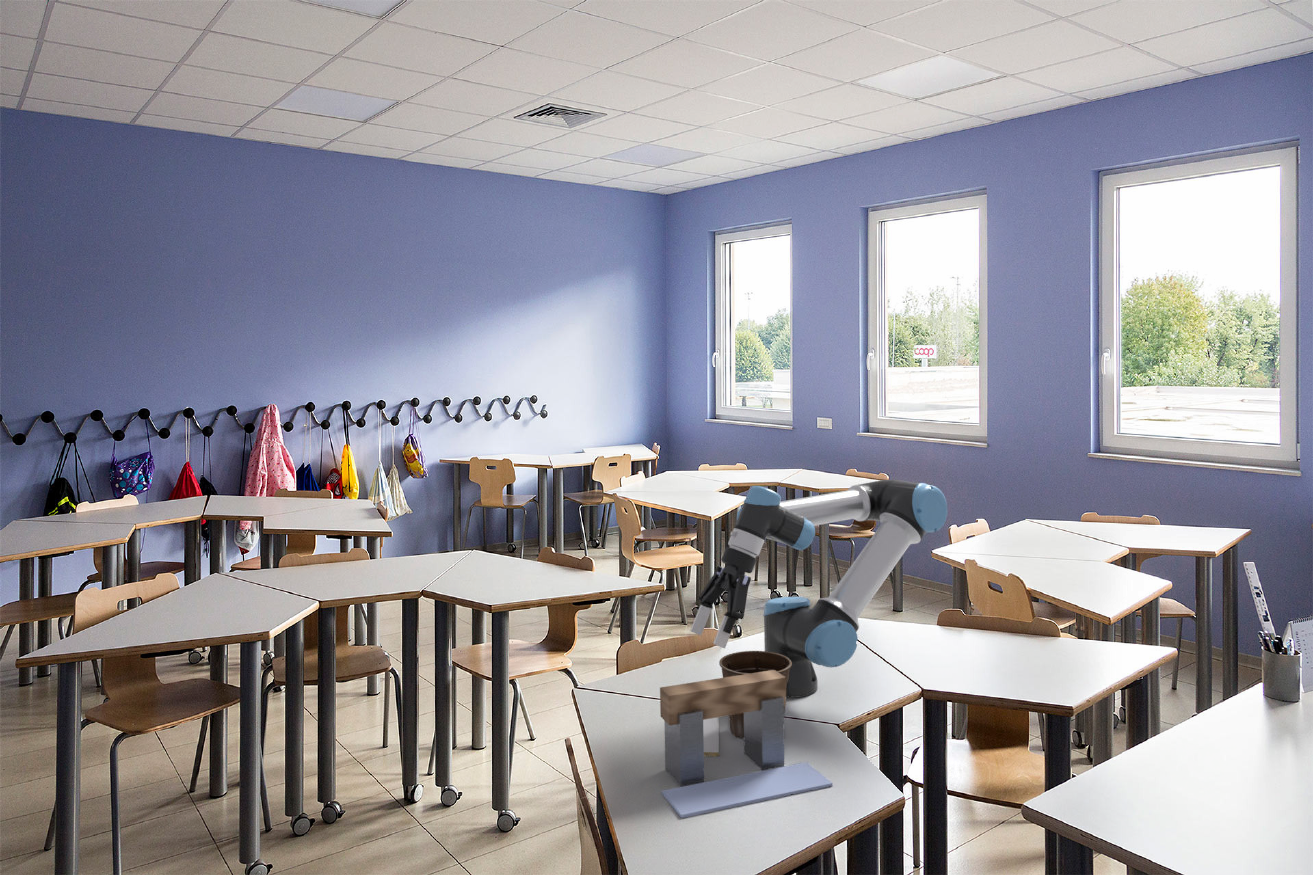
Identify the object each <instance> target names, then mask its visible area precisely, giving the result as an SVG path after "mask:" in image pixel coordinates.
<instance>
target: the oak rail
mask: <svg viewBox="0 0 1313 875" xmlns="http://www.w3.org/2000/svg"><path fill="white" fill-rule="evenodd" d="M779 696H782V697H783V698H784V706H785V707H786V706H787V697H786V677H785V676H783V675H782V674H780V673H779V672H777V671H776V670H770V671H763V672H757V673H750V674H744V675H738V676H731V677H725V678H723V677H719V678H714V679H707V680H700V681H694V682H687V683H681V684H675V685H673V684H672V685H668V686H661V687H659V703H660V704H659V706H660V709H659V710H660V713H659V714H660V717H661V719H662V720H663V721H664V722H665V721H666V722H667V724H668V725H669V726H670V725H676V724H678V713H684V712H690V711H695V710H702V711H703V720H705V719H711V718H717V717H718V718H722V717H727V716H728V717H729V715H734V714H740V713H746V712H751V711H757V710H760V700H761V699H767V698H773V697H779Z"/></svg>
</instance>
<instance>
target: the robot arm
mask: <svg viewBox="0 0 1313 875" xmlns="http://www.w3.org/2000/svg"><path fill="white" fill-rule="evenodd" d="M781 500H782V497H781V495H780V494H779V493H778V492H775V491H774V490H772V489H770V488H767V487H765V486H761V485H760V486H759V485H753V486H752V487H751V488H750V489H749V491H748V492H747V495H746V496H745V499H744V500H743V504H742V505H741V507H740V508H739V510H738V511H737V514H736V522H735V525H734V528H733V530H732V531H731V532H730V537H729V540H728V542H727V544H728V546H727V547H725V549H724V552H723V555H722V557H721V559H720V560H721V561H720V562H722V563H723V564H725V566H724V567H722V566H720V565H718V566H716V569H715V571H714V573H713V574H712V576H711V578H710V579H709V581H708V582H707V583H706V585H705V587H704V588H703V590H702V591H701V593H700V594H699V596H698V598H697V600H698V601H699V604H700V605H699V608H698V610H697V612H696V616H695V617H694V620H693V623H692V625H691V628H690V630H689V631H690V632H691V633H694V634H695V635H698V636H702V635H703V632H704V630H705V627H706V624H707V622H708V619H709V617H710V615H711V611H712V610H713V609H714V608H713V607H714V603H715V602H716V601H717V600H718V599H719V598H720V597H721V595H723V594H724V592H727V598H726V600H727V601H726V602H727V603H726V606H727V607H726V612H724V613H723V615H724V616H723V617H722V620H721V623H720V624H719V627H718V631H717V633H716V636H715V637H714V641H713V645H714V646H718V647H720V648H723V649H726V646H727V644H728V642H729V640H730V637H731V634H732V632H733V629H734V627H735V624H736V622H737V621H738V620H739V619H740V620H743V619H744V616H745V610H746V605H747V599H748V598H747V597H748V592H749V586H750V584H751V580H752V577H750V576H748V575H746V574H751V573H753V571H754V568H755V565H756V564H757V557H759V555H760V553H761V551H762V548H763V546H764V544H765V540H766V539H767V540H771V541H775V542H778V543H780V544H781V543H782V544H784V545H786V546H788V547H789V548H792V549H795V550H799V551H802V550H805V549H807V548H808V547H810V545H811V544H812V543H813V541H814V538H815V536H816V528H815V526H820V525H826V524H832V523H836V522H843V521H847V520H855V521H857V522H864V521H877V522H880V525H879V527H878V528H877V529H876V530H875V532H874V534H873V535H872V536H871V538H870V539H869V540H868V541H867V543H866V545H865V546H864V547H863V548H862V550H861V552H860V553H859V554H858V556H857V557H856V559H855V560H854V561H853V562H852V564H851V565H850V566H849V568H848V569H847V571H846V572H845V573H844V574H843V577H842V578H841V579H840V580H839V581H838V582H837V584H836V586H835V588H834V589H833V590H832V591H831V593H830V594H829V596H828V597H820V598H819V599H818V600H817V602H816V603H815V604H814V605H813V606H812V608H811V605H812V604H811V602H810V601H811V600H810V599H809V598H807V597H804V596H782V597H775V598H772V599H771V598H770V599H768V600H767V601H766V602H765V604H764V608H763V610H764V611H763V614H762V615H763V624H764V626H763V627H764V630H763V633H764V636H763V638H764V651H766V652H773V653H778V654H781V655H784V656H786V657H787V658H789V659H790V660H791V662H792V665H791V667H790V669H789V680H788V682H787V688H786V698H799V697H802V698H803V697H807V696H809V695H812V694H815V692H817V691H818V687H819V686H818V685H819V684H818V681H819V680H818V677H817V675H816V674H817V673H816V670H815V667H814V665H813V664H815V665H818V666H823V667H825V668H838V667H841V666H842V665H844V664H846V663H847V662H848V661H849V660H850V659H851V658H852V657H853V656H854V654H855V652H856V650H857V647H858V644H857V642H858V640H859V639H858V633H857V632H858V630H859V629H860V624H859V618H860V617H861V615H862V613H863V612H864V610H866V608H867V606H868V604H870V603H871V601H872V599H873V597H875V595H876V593H877V592H878V590H879V589H880V588H881V586H882V585H883V583H884V582H885V581H886V579H887V577H888V576H889V575H890V573H892V571H893V569H894V568H895V566H897V563H899V561H900V560H901V558H902V557H903V556H904V554H905V553H906V551H907V549H908V548H909V547H910V546H911V545H915V544H919V543H920V542H921V541H922V539H923V538H924V536H925V535H926V534H927V533H934V532H938V531H939V530H941V529H942V527H944V526H945V523H946V520H947V517H948V502H947V498H946V497H945V495H944V493H943V491H942V490H941V489H940V488H938V487H937V486H935V485H930V484H927V483H925V482H920V483H919V482H912V481H906V480H900V479H894V478H893V479H882V480H876V481H871V482H870V481H869V482H866V483H861V484H859V483H858V484H855V485H851V486H850V487H849V488H848V489H847V490H842V491H841V490H840V491H835V492H830V493H829V492H828V493H824V494H818V495H813V496H806V497H801V498H800V497H799V498H794V499H788V500H783V501H781Z"/></svg>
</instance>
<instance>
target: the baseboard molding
mask: <svg viewBox="0 0 1313 875" xmlns="http://www.w3.org/2000/svg"><path fill="white" fill-rule="evenodd" d="M719 733H720V732H719V717H717V718H711V719H705V720H703V737H704V757H719V755H720V751H719V748H720V747H719V745H720V744H719V740H720V739H719V735H720V734H719Z"/></svg>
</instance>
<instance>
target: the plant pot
mask: <svg viewBox="0 0 1313 875" xmlns="http://www.w3.org/2000/svg"><path fill="white" fill-rule="evenodd" d="M718 662H719V667H720V668H721V673H722V674H721V675H722V678H725V677H731V676H738V675H744V674H750V673H757V672H763V671H770V670H776V671H777V672H779V673H780V674H782V675H783V676H785V677H786V688H787V682H788V680H789V669H790V667H791V665H792V662H791V660H790V659H789V658H787V657H786V656H784V655H781V654H778V653H773V652H766V651H765V650H745V651H738V652H737V651H736V652H733V653H728V654H726V655H724V656H722V657H721V658H720V659H719V661H718ZM785 712H786V706H784V716H785ZM728 723H729V732H730V733H731V734H732V735H733V736H734V737H736V738H743V739H744V713H740V714H734V715H728Z"/></svg>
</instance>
